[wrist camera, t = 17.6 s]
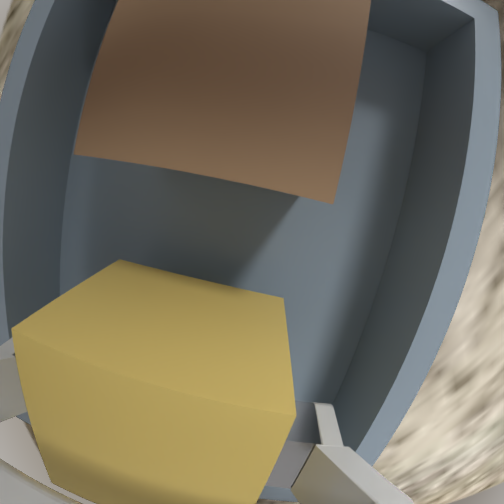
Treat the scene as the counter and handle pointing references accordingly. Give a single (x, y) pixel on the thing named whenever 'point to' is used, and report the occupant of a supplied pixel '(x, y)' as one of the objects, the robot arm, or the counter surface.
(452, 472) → the counter surface
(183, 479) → the mustard block
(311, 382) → the tray
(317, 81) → the walnut block
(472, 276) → the counter surface
